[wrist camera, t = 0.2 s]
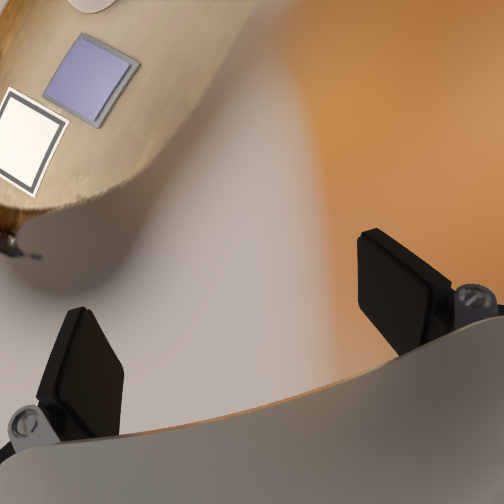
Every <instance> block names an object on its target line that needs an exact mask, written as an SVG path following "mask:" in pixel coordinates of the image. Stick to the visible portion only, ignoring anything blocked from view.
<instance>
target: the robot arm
mask: <svg viewBox="0 0 504 504" xmlns="http://www.w3.org/2000/svg"><path fill="white" fill-rule="evenodd" d="M357 253H358V254H357V256H358V303H359V307H360V309H361V310H362V311H363V313H364V314H365V315H366V316H367V317H368V318H369V320H370V321H371V322H372V323H373V324H374V326H375V327H376V328H377V329H378V330H379V332H380V333H381V334H382V335H383V337H384V338H385V339H386V340H387V341H388V343H389V344H390V345H391V346H392V348H393V349H394V350H395V351H396V352H397V354H398V355H399V357H396V358H394V359H391V360H389V361H387V362H384V363H382V364H380V365H377V366H375V367H373V368H371V369H368V370H365V371H363V372H360V373H358V374H355V375H353V376H350V377H348V378H345V379H342V380H339V381H337V382H334V383H331V384H328V385H326V386H323V387H320V388H317V389H314V390H311V391H308V392H305V393H302V394H299V395H296V396H293V397H290V398H287V399H283V400H280V401H277V402H273V403H270V404H267V405H263V406H259V407H256V408H252V409H249V410H245V411H241V412H237V413H233V414H229V415H225V416H221V417H217V418H212V419H208V420H203V421H199V422H194V423H189V424H184V425H179V426H175V427H169V428H163V429H158V430H151V431H145V432H138V433H131V434H124V435H119V427H120V413H121V401H122V391H123V381H124V370H123V367H122V365H121V363H120V361H119V360H118V358H117V356H116V355H115V353H114V351H113V349H112V348H111V346H110V344H109V342H108V341H107V339H106V337H105V335H104V333H103V331H102V330H101V328H100V326H99V324H98V322H97V320H96V318H95V316H94V315H93V313H92V311H91V310H89V309H88V310H87V309H86V308H85V307H79V308H75V309H71V310H69V311H68V312H67V315H66V317H65V319H64V322H63V324H62V327H61V329H60V331H59V334H58V336H57V339H56V342H55V344H54V347H53V349H52V352H51V354H50V357H49V360H48V363H47V365H46V368H45V371H44V374H43V377H42V380H41V383H40V386H39V389H38V392H37V395H36V398H37V399H38V400H39V403H38V406H35V405H27V406H24V407H22V408H20V409H19V410H17V411H16V412H15V413H14V415H13V416H12V417H11V419H10V421H9V424H8V435H9V438H10V440H11V441H10V442H8V443H7V444H6V445H5V446H4V447H3V448H2V449H0V504H504V305H498V304H497V300H496V297H495V295H494V293H493V292H492V291H491V290H489V289H488V288H486V287H484V286H482V285H479V284H464V285H461V286H460V287H458V288H457V289H456V290H455V291H454V290H453V289H452V288H451V284H452V282H451V281H450V280H448V279H447V278H446V277H444V276H443V275H442V274H440V273H439V272H438V271H436V270H435V269H434V268H432V267H431V266H430V265H429V264H427V263H426V262H425V261H423V260H422V259H420V258H419V257H418V256H416V255H415V254H414V253H412V252H410V251H409V250H408V249H407V248H405V247H404V246H403V245H401V244H400V243H398V242H397V241H395V240H394V239H393V238H391V237H390V236H388V235H387V234H385V233H384V232H383V231H381V230H380V229H378V228H375V229H371V230H368V231H364V232H362V233H361V236H360V237H359V238H358V239H357Z"/></svg>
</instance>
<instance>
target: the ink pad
mask: <svg viewBox="0 0 504 504" xmlns="http://www.w3.org/2000/svg"><path fill="white" fill-rule="evenodd" d="M140 65H141V64H140V63H138V62H137V61H135V60H133V59H131V58H129V57H128V56H126V55H124V54H122V53H120V52H119V51H117V50H115V49H113V48H111V47H109V46H107V45H105V44H104V43H102V42H100V41H98V40H96V39H94V38H92V37H90V36H88V35H86V34H84V33H82V32H81V34H80V35H79V36H78V38H77V39H76V41H75V42H74V44H73V45H72V47H71V48H70V50H69V51H68V53H67V54H66V56H65V57H64V59H63V61H62V62H61V64H60V65H59V67H58V69H57V70H56V72H55V74H54V75H53V77H52V79H51V80H50V82H49V84H48V86H47V87H46V89H45V91H44V93H43V95H42V97H43V98H45V99H46V100H48V101H50V102H52V103H53V104H55V105H57V106H59V107H60V108H62V109H64V110H66V111H67V112H69V113H71V114H73V115H74V116H76V117H78V118H80V119H81V120H83V121H85V122H86V123H88V124H90V125H92V126H93V127H95V128H97V129H99V128H100V127H101V125H102V124H103V122H104V120H105V119H106V117H107V115H108V114H109V112H110V110H111V109H112V107H113V105H114V104H115V102H116V101H117V99H118V98H119V96H120V95H121V93H122V91H123V90H124V88H125V87H126V85H127V84H128V83H129V81H130V80H131V78H132V77H133V75H134V74H135V72H136V71H137V70H138V68H139V67H140Z"/></svg>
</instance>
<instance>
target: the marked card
mask: <svg viewBox="0 0 504 504" xmlns="http://www.w3.org/2000/svg"><path fill="white" fill-rule="evenodd" d="M69 123H70V120H68V119H66V118H64V117H63V116H61V115H59V114H57V113H56V112H54V111H52V110H50V109H49V108H47V107H45V106H43V105H42V104H40V103H38V102H36V101H35V100H33V99H31V98H29V97H28V96H26V95H24V94H22V93H20V92H19V91H17V90H15V89H13V88H12V87H9V88H8V90H7V92H6V95H5V97H4V99H3V101H2V103H1V105H0V177H2V178H3V179H5V180H7V181H8V182H10V183H11V184H13V185H14V186H16V187H18V188H19V189H21V190H22V191H24V192H26V193H27V194H29V195H30V196H32V197H35V196H36V193H37V191H38V188H39V186H40V184H41V181H42V179H43V177H44V174H45V172H46V170H47V168H48V165H49V163H50V161H51V159H52V157H53V155H54V153H55V151H56V149H57V147H58V144H59V142H60V140H61V139H62V137H63V135H64V133H65V131H66V129H67V127H68V125H69Z"/></svg>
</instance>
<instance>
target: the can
mask: <svg viewBox="0 0 504 504" xmlns="http://www.w3.org/2000/svg"><path fill="white" fill-rule="evenodd" d="M67 1H68V2H69V3H71V4H72V5H73V6H74V7H75V8H76V9H78V10H79V11H81V12H84V13H94V12H98V11H101V10H103V9H105V8H107V7H108V6H110V5H111V4H112V3H113V2H114V1H115V0H67Z"/></svg>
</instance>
